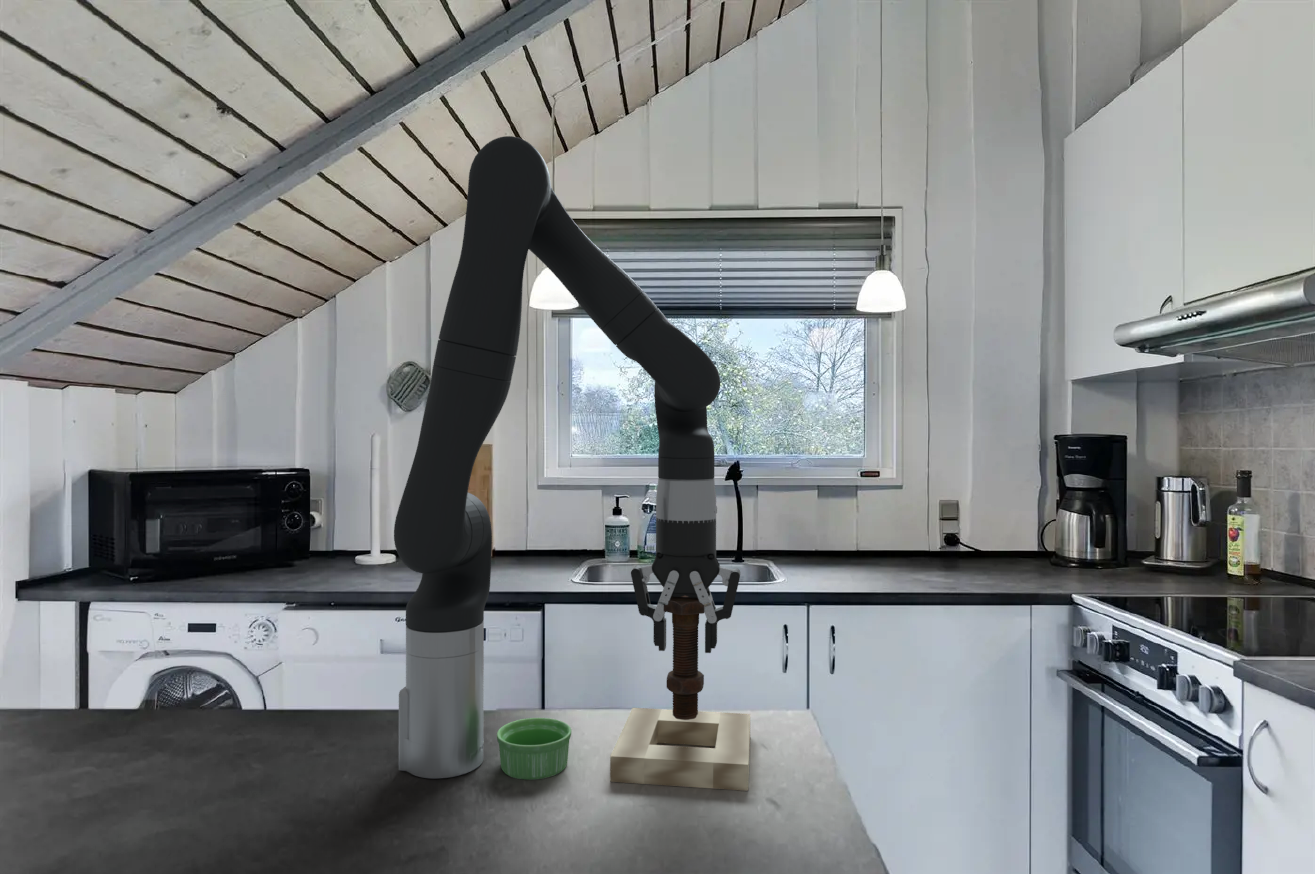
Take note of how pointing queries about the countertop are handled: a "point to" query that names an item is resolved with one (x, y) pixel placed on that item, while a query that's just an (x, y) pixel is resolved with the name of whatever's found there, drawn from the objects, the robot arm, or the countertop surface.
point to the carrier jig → (683, 750)
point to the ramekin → (534, 748)
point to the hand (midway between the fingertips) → (685, 649)
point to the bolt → (685, 656)
